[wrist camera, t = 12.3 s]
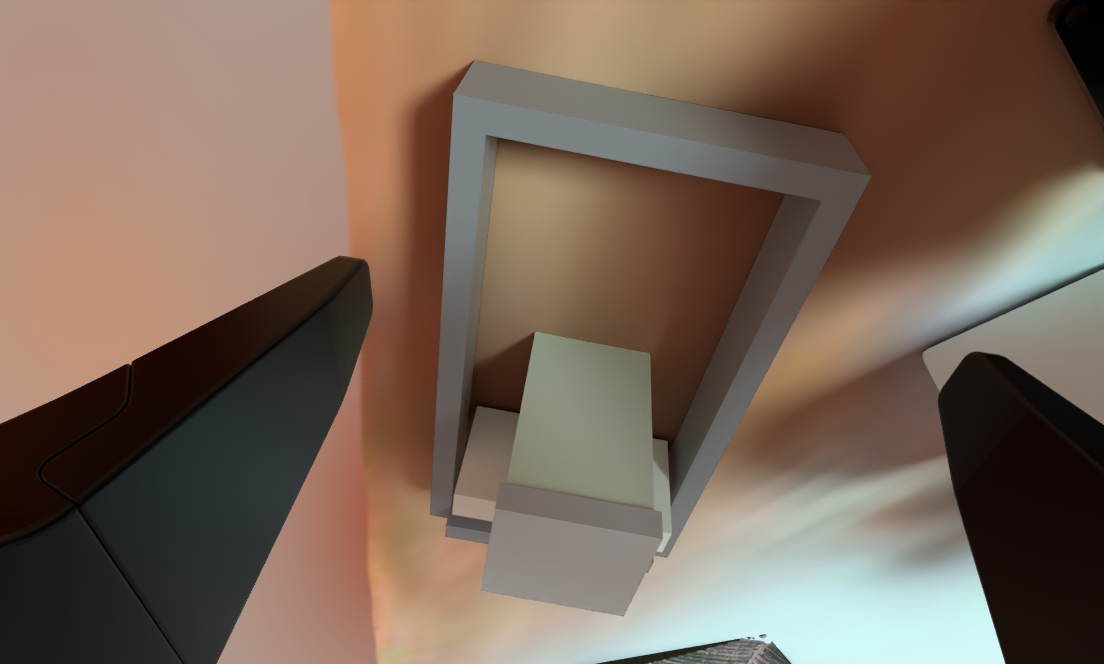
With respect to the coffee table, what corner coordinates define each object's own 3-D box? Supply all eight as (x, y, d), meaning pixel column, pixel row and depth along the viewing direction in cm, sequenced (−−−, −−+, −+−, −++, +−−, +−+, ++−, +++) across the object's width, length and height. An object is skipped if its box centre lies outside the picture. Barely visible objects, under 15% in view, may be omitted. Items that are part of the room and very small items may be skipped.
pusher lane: (474, 60, 20) (444, 107, 17) (844, 134, 20) (882, 192, 17) (444, 466, 33) (424, 532, 30) (665, 506, 34) (668, 576, 31)
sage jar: (656, 350, 27) (663, 539, 20) (626, 432, 30) (623, 616, 23) (531, 327, 27) (495, 508, 20) (516, 411, 30) (480, 590, 23)
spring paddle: (477, 405, 30) (454, 494, 26) (667, 441, 30) (671, 533, 26) (466, 497, 35) (445, 582, 31) (629, 526, 35) (629, 615, 31)
